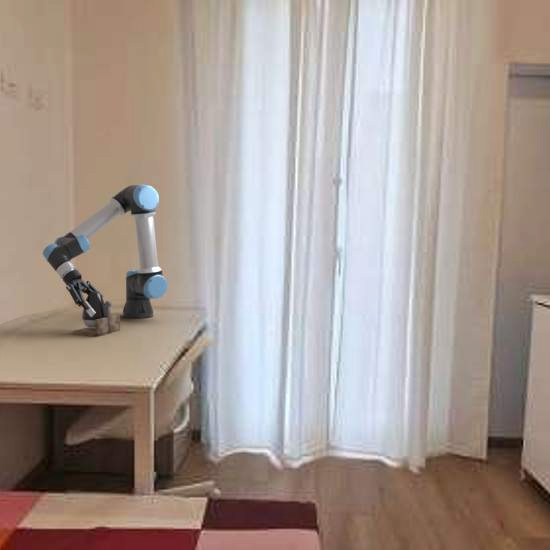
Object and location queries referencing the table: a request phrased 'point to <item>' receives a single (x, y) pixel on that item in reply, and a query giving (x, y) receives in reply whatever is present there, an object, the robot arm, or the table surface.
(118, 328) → the stand
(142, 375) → the table surface
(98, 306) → the pump dispenser
